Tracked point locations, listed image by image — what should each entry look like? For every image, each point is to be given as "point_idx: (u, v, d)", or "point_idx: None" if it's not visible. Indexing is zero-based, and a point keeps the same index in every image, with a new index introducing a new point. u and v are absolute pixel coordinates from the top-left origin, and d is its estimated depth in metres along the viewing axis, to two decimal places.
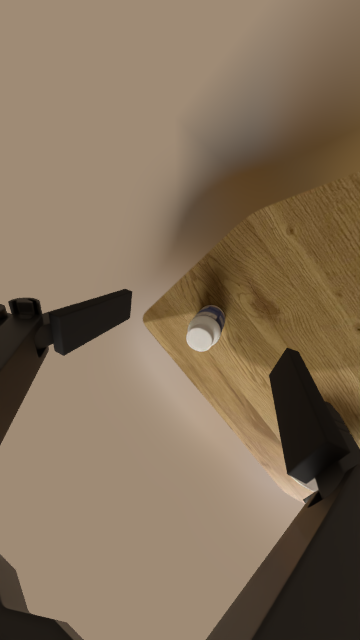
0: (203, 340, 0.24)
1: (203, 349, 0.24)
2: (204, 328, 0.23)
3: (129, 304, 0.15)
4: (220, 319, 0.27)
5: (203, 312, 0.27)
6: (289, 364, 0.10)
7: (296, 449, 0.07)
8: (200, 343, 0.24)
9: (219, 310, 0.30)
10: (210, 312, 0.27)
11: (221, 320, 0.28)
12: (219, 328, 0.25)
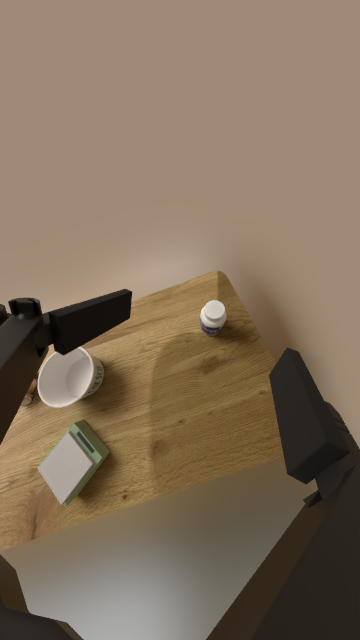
0: (213, 312, 0.31)
1: (206, 310, 0.31)
2: (222, 316, 0.31)
3: (129, 304, 0.15)
4: (215, 330, 0.36)
5: None
6: (289, 364, 0.10)
7: (296, 449, 0.07)
8: (211, 309, 0.31)
9: (217, 332, 0.38)
10: None
11: (214, 331, 0.36)
12: (213, 327, 0.33)
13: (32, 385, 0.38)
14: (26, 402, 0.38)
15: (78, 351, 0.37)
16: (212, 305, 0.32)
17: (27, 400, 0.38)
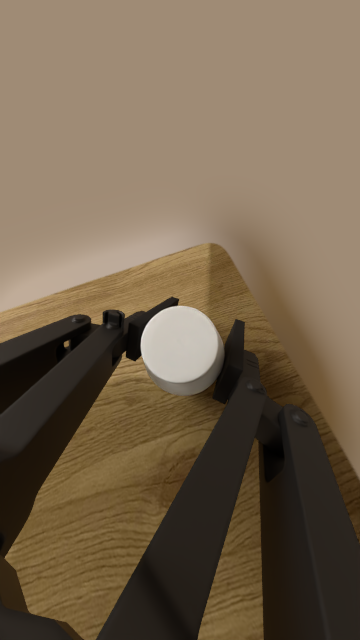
0: (174, 354, 0.08)
1: (146, 344, 0.08)
2: (209, 369, 0.08)
3: None
4: None
5: None
6: (233, 330, 0.13)
7: (219, 380, 0.10)
8: (167, 342, 0.08)
9: None
10: None
11: None
12: (181, 395, 0.10)
13: None
14: None
15: None
16: (172, 325, 0.08)
17: None
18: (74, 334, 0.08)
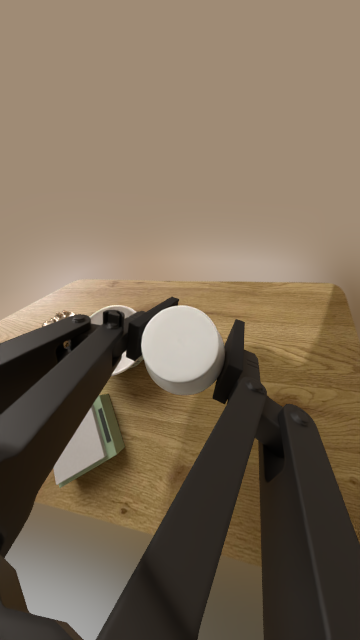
0: (174, 354, 0.08)
1: (147, 343, 0.08)
2: (209, 369, 0.08)
3: None
4: None
5: None
6: (232, 329, 0.13)
7: (219, 380, 0.10)
8: (167, 341, 0.08)
9: None
10: None
11: None
12: (182, 394, 0.10)
13: None
14: None
15: None
16: (173, 324, 0.08)
17: None
18: (74, 334, 0.08)
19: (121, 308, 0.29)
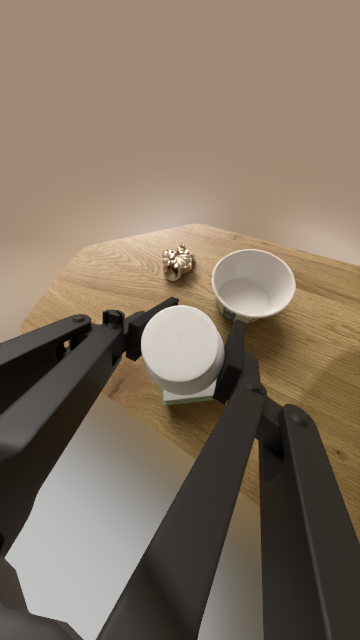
0: (174, 354, 0.08)
1: (146, 343, 0.08)
2: (209, 369, 0.08)
3: None
4: None
5: None
6: (232, 330, 0.13)
7: (219, 380, 0.10)
8: (167, 341, 0.08)
9: None
10: None
11: None
12: (182, 394, 0.10)
13: (190, 266, 0.32)
14: (171, 278, 0.33)
15: (267, 268, 0.27)
16: (172, 324, 0.08)
17: (173, 277, 0.33)
18: (74, 334, 0.08)
19: (266, 255, 0.26)
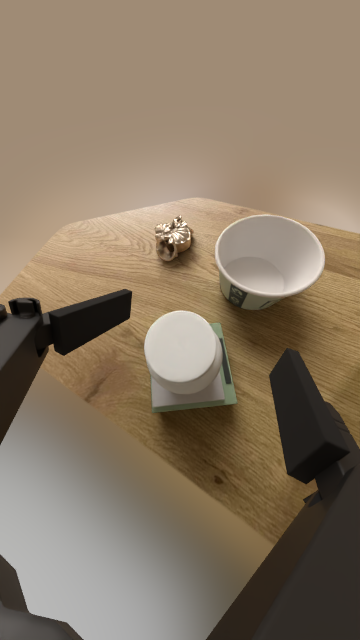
0: (175, 356, 0.09)
1: (149, 346, 0.09)
2: (207, 370, 0.08)
3: (129, 304, 0.15)
4: None
5: None
6: (289, 364, 0.10)
7: (296, 449, 0.07)
8: (168, 344, 0.09)
9: None
10: None
11: None
12: (182, 393, 0.11)
13: (188, 243, 0.26)
14: (166, 257, 0.27)
15: (284, 240, 0.22)
16: (173, 328, 0.09)
17: (168, 256, 0.27)
18: None
19: (283, 222, 0.20)
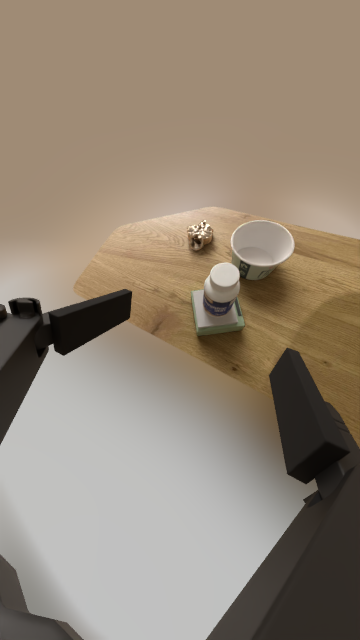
0: (223, 278, 0.22)
1: (212, 275, 0.22)
2: (236, 283, 0.22)
3: (129, 304, 0.15)
4: (224, 308, 0.26)
5: None
6: (289, 364, 0.10)
7: (296, 449, 0.07)
8: (220, 274, 0.22)
9: (226, 312, 0.29)
10: None
11: (221, 309, 0.27)
12: (222, 301, 0.24)
13: (210, 238, 0.40)
14: (195, 248, 0.41)
15: (273, 235, 0.35)
16: (221, 269, 0.23)
17: (197, 247, 0.41)
18: None
19: (271, 224, 0.34)
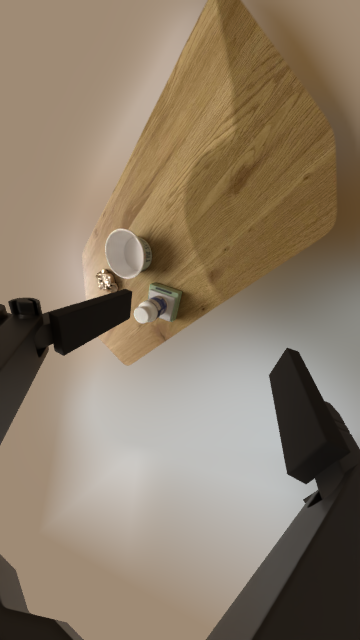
0: (143, 317, 0.38)
1: (140, 321, 0.39)
2: (147, 312, 0.37)
3: (129, 304, 0.15)
4: (161, 311, 0.42)
5: (155, 301, 0.41)
6: (289, 364, 0.10)
7: (296, 449, 0.07)
8: (140, 318, 0.38)
9: (166, 305, 0.44)
10: (159, 304, 0.41)
11: (161, 312, 0.42)
12: (156, 316, 0.40)
13: (110, 276, 0.51)
14: (116, 288, 0.54)
15: (120, 235, 0.43)
16: (137, 315, 0.38)
17: (115, 287, 0.54)
18: None
19: (111, 236, 0.42)
